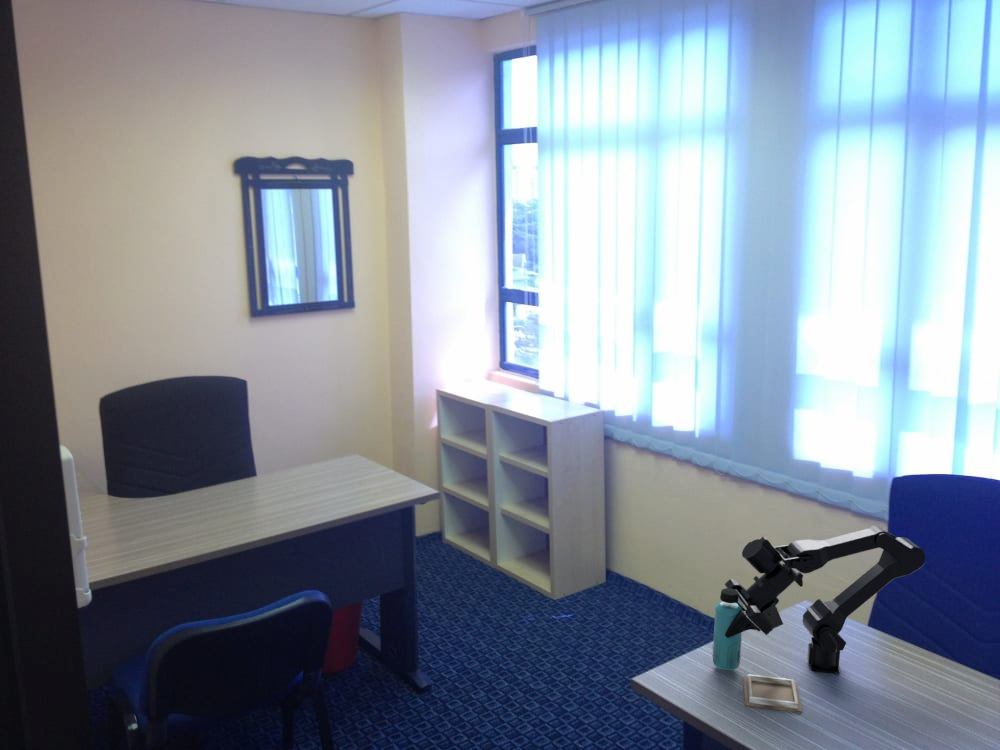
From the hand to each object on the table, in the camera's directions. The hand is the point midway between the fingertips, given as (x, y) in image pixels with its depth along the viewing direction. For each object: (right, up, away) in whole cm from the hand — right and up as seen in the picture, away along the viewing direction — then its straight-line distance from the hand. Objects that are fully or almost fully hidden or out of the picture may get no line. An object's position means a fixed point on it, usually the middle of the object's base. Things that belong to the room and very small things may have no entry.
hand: (721, 629), depth 212 cm
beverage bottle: (+1, -10, +2) cm, 10 cm away
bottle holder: (+9, -12, -9) cm, 17 cm away
